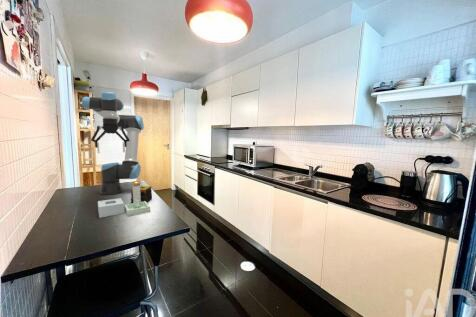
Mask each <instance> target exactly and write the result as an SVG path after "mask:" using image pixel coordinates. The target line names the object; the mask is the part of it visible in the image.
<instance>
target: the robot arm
mask: <svg viewBox="0 0 476 317" xmlns="http://www.w3.org/2000/svg"><path fill="white" fill-rule="evenodd" d="M81 106H82V107H83V108H84V110H85V109H86V110H93V111H94V112H95V113H96V114H97V115H99V116H101V117H102V125H101V126H100V125H97V126H96V130H95V132H94V134H93V135H92V137H91V139H90V141H91V142H93V143H94V147H95V148H97V154H100V142H99V140H101V138H103V137H104V136H105V135H106V134H116V135H117V136H118V138H119V139H120V140H121V141H122V153H125V154H124V160H122V163H121V164H120V163H119V162H107V163H105V164H104V163H103V164H102V165H101V167H100V168H101V169H100V170H101V186H100V190H99V194H100V195H103V196H111V195H116V194H120V193H122V192H123V187H122V185H121V182H120V180H136V179H138V178H139V177H140V174H141V170H142V169H141V168H142V166H141V164H140V162H139V161H138V159H137V158H138V147H139V138H140V136H139V134H141V132H142V130H144V128H145V126H144V125H145V124H144V121H143V117H142V116H140V115H137V114H135V115H133V114H131V115H130V114H129V115H128V114H118V112H117V111H119V112H120V111H122V110H123V109H124V107H125V105H124V102H123V101H122V100H121V99H119V98H117V95H116V93H115V92H112V91H103V92H101V97H96V96H95V97H94V96H84V97H82V99H81ZM100 130H103V132H101V133H100V135H99V136H98V133H99V131H100ZM118 130H119V131H121V133H122V135H123V136H124V137H123V136H122V135H121V134H120V132H118ZM125 131H126V132H125ZM97 136H98V137H97Z"/></svg>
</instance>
